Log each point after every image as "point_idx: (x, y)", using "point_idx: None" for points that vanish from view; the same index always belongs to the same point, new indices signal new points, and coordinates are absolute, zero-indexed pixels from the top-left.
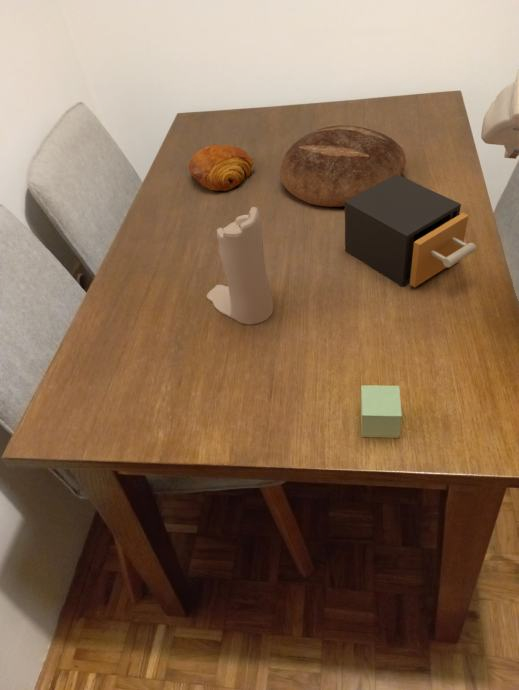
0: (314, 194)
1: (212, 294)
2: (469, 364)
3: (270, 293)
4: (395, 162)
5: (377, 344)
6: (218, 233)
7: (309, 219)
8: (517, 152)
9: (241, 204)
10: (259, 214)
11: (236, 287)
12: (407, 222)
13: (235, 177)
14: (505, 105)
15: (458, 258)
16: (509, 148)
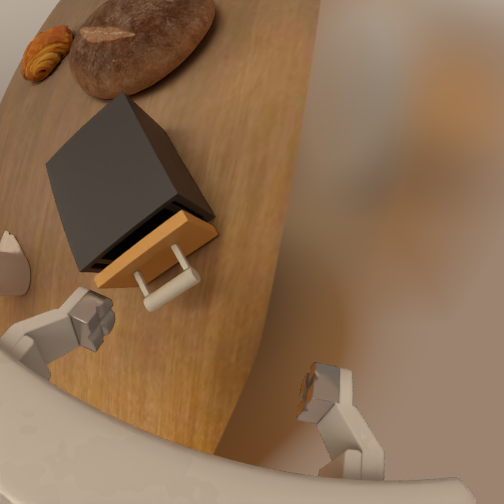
0: (85, 89)
1: (2, 244)
2: (177, 419)
3: (12, 281)
4: (178, 33)
5: (98, 361)
6: None
7: (84, 120)
8: (89, 347)
9: (46, 97)
10: None
11: None
12: (88, 234)
13: (45, 66)
14: None
15: (164, 302)
16: (48, 359)
